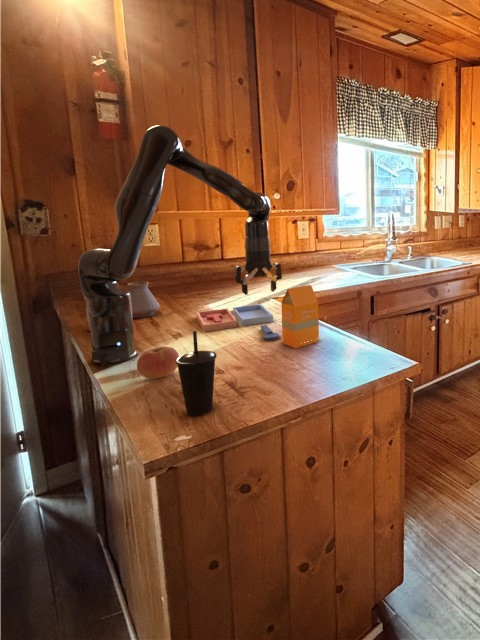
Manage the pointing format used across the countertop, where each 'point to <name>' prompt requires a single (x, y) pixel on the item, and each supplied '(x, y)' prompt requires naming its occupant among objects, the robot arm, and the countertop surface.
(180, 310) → the countertop surface
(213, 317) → the red spoon
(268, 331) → the blue spoon
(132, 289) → the coffee pot
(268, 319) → the blue tray
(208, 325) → the red tray
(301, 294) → the orange juice
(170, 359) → the apple
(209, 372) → the drinking cup
